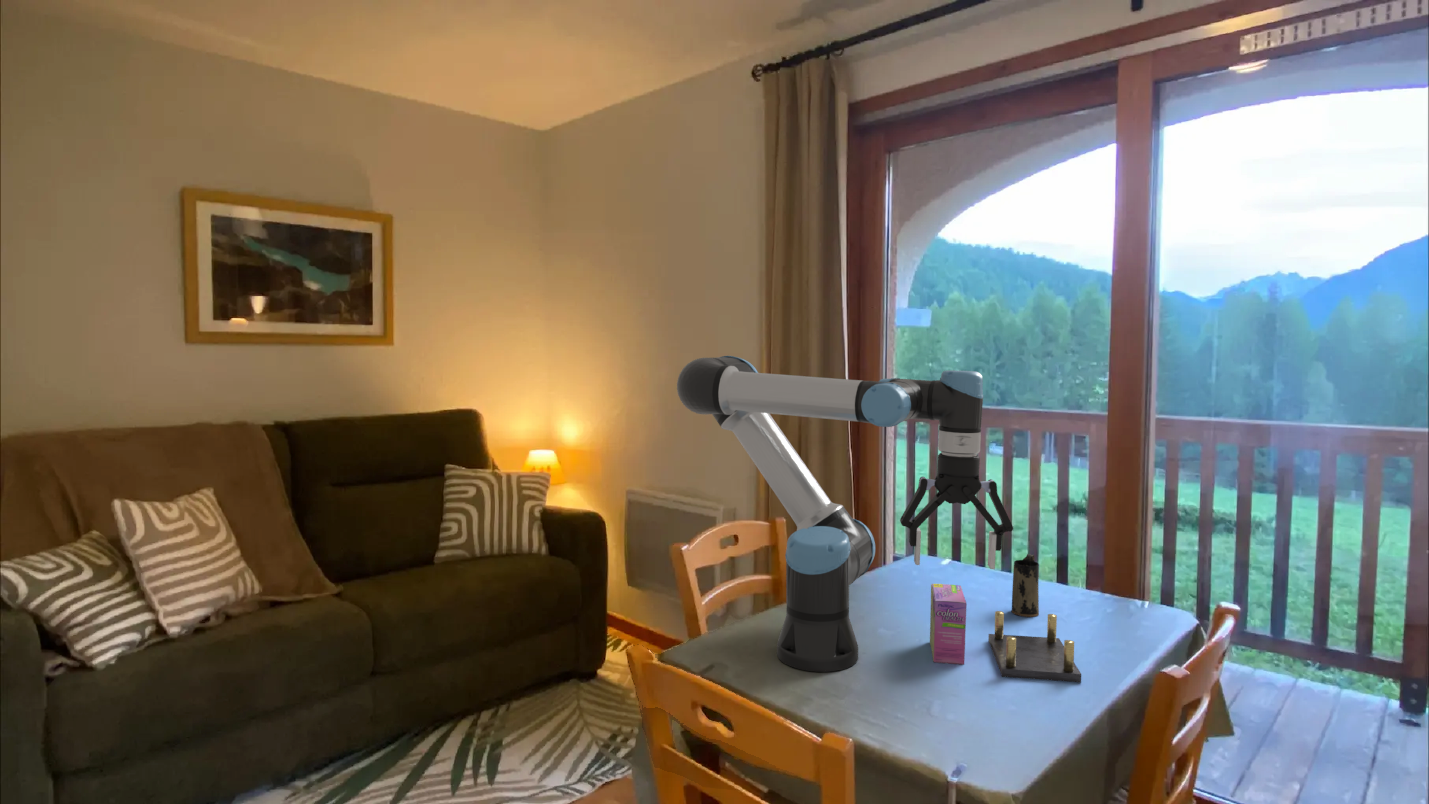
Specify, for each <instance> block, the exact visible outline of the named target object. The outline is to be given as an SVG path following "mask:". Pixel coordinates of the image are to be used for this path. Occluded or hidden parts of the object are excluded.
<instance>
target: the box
mask: <svg viewBox="0 0 1429 804" xmlns="http://www.w3.org/2000/svg"><path fill="white" fill-rule="evenodd" d="M967 605H968V604H967V599H966V598H965V595H964V592H963V588H962V586H961V585H958V584H949V583H948V584H945V583H944V584H943V583H931V584H930V622H929V623H930V625H929V644H930V649H931V656H932V662H933V663H938V664H949V665H950V664H951V665H965V659H966V658H965V654H966V653H965V652H966V630H967V629H966V628H967V627H966V625H967Z"/></svg>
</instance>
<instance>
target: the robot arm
mask: <svg viewBox="0 0 1429 804" xmlns="http://www.w3.org/2000/svg"><path fill="white" fill-rule="evenodd" d="M681 369H682V370H681V372H679V375H678V378H677V380H676V381H677V382H676V390H677V395H678V398H679V400H680V402H681V403H682V405H683V406H685V408H686V409H687V410H689V411H691V412H693V413H695V414H698V415H712V416H713V418H714V419H715V421H716V422H717V424H718V425H719V426H720V428H721V429H722V430H726V431H731V432H732V433H733V434H734V436H735V438H737V440H738V442H739V443H740V444H741V446H742V447H743V449H744V451H745V452H746V453H747V455H748V457H749V458H750V459H751V461H752V462H753V464H754V465H755V466H756V468H757V469H758V471H759V472H760V474H761V475H762V477H763V478H764V480H765V481H766V483H767V484H768V486H769V487H770V488H771V490H772V491H773V493H774V494H775V496H776V498H777V499H778V500H779V502H780V503H781V504H782V506H783V507H784V509H785V510H786V512H787V514H788V515H789V516H790V517H791V519H792V520H793V522H794V524H795V525H796V531H794V532H793V533H791V534H790V535H789V537H788V539H787V541H786V549H785V555H784V556H785V561H786V563H785V564H786V565H785V569H786V570H785V571H786V572H785V573H786V574H785V576H786V577H785V578H786V580H785V581H786V584H785V586H786V587H785V588H786V590H785V591H786V600H785V601H786V614H785V618H784V620H783V623H782V626H781V630H780V633H779V636H778V639H777V643H776V656H777V659H778V660H780V662H781V663H783V664H785V665H786V666H788V667H792V668H794V669H797V670H801V671H807V672H817V673H819V672H820V673H822V672H823V673H824V672H837V671H842V670H845V669H848V668H851V667H852V666H854V665H855V664H856V663H857V662H858V661H859V645H858V642H857V638H856V635H855V631H854V628H853V625H852V623H851V619H850V586H851V585H852V584H853V583H855V581H857V579H859V578H860V577H862V576H863V575H864V574H866V572H867V571H868V570H869V568H870V567H871V565H872V563H873V561H874V558H875V555H876V543H875V538H874V535H873V533H872V532H871V530H870V528H869V527H868V526H867V525H866V524H864V523H863V522H862V521H860V520H857V519H856V518H853V517H852V516H851V515H850V513H849V512H848V511H847V509H846V508H845V506H844V505H843V504H840V503H836V502H835V503H834V502H832V501H831V499H830V498H829V496H828V495H827V493H826V492H825V491H824V489H823V488H822V487H821V484H820V483H819V482H818V481H817V479H816V478H815V476H814V474H813V473H812V472H811V471H810V470H809V468H808V467H807V465H806V463H805V462H804V461H803V460H802V458H801V456H800V455H799V454H798V452H797V450H796V449H795V448H794V447H793V445H792V444H791V442H790V440H789V439H788V438H787V437H786V434H784V432H783V430H782V429H781V428H780V427H779V425H778V424H777V422H776V421H775V420H774V418H773V416H772V415H783V416H794V417H795V416H796V417H802V418H803V417H805V418H816V419H827V420H837V421H838V420H839V421H848V422H849V421H850V422H858V423H859V422H860V423H865V424H866V423H867V424H872V425H874V426H876V427H880V428H881V427H882V428H883V427H885V428H890V427H894V426H895V427H896V426H897V425H900V424H901V423H903V422H905V421H908V420H927V421H938V423H939V425H938V443H937V444H938V446H937V450H938V451H939V452H940V453H938V455H937V463H936V464H937V467H936V468H937V470H936V477H935V479H931V478H927V477H925V476H921V477H920V478H919V480H918V486H917V488H916V491H915V492H914V495H913V496H912V498H911V499H910V501H909V503H908V505H907V507H906V508H905V509H904V511H903V513H902V515H901V517H900V518H899V523H900V525H901V526H902V527H905V528H908V529H909V532H908V533H909V535H908V542H909V545H910V547H914V548H913V549H914V551H913V552H914V553H913V554H914V555H913V561H914V562H913V563H914V565H915V566H920V564H921V563H920V562H921V546H922V545H921V543H922V530H921V527H920V526H921V525H922V524H924V522H925V521H926V520H927V519H928V518H929V517H930V516H931V515H932V514H933V513H934V512H935V511H936V509H938V508H939V507H940V506H941V505H942V504H944V502H946V503H948V504H957V503H958V504H961V505H967V504H969V503H970V502H971V503H972V505H973V506H974V507H975V508H976V510H977V511H978V512H979V513H980V514H981V516H982V517H983V519H985V521H986V522H987V523H988V524H989V526H990V527H991V528H992V529H993V530H991V531H989V530H988V531H989V532H988V548H987V549H988V553H987V566H988V568H989V569H990V570H995V569H996V554H997V553H996V551H998V552H1001V550H1002V543H1003V535H1004V534H1005V533H1006V532H1012V531H1014V526H1013V524H1012V522H1011V519H1010V518H1009V516H1008V514H1007V511H1006V510H1005V507H1004V505H1003V503H1002V500H1001V499H1000V496H999V494H998V485H997V482H996V481H995V480H993V479H988V480H985V481H984V480H983V481H981V480H980V464H981V463H980V461H981V458H980V456H979V455H978V454H979V453H980V452H981V442H982V441H981V437H982V436H981V435H982V420H983V419H982V417H983V406H984V405H983V404H984V403H983V402H984V393H983V390H984V383H983V382H984V381H983V378H984V377H983V375H982V374H981V373H980V372H978V371H975V370H954V369H953V370H952V369H951V370H944V371H942V372H941V375H940V376H941V377H940V379H938V380H937V379H936V380H927V379H925V380H923V379H911V378H907V379H906V378H899V377H893V378H882V379H879V380H878V381H876V380H860V379H859V380H858V379H844V378H831V377H820V376H819V377H818V376H807V375H806V376H804V375H791V374H779V373H778V374H777V373H767V372H762V373H761V372H758V370H757V369H756V367H755V366H754V365H753V364H752V363H751V362H749V361H748V360H746V359H744V358H742V357H738V356H733V355H723V356H719V357H717V356H716V357H700V358H696V359H693V360H692V361H690V362H688V363H687V364H686V365H685V366H684V367H683V368H681ZM771 414H772V415H771ZM933 486H934V487H935V488H936V490H937V492H936V494H935V495H934V496H933V497H932V499H931V500H930V501H928V503H927V504H926V505H925V506H924V507H923V508H922V509H921V510H920V511H919V512H918V513H917V515H915V516H914V514H915V512H916V511H917V509H918V507H919V505H920V504H921V502H922V499H923V498H924V496H925V495H926V492H927V491H929V490H931V488H932V487H933ZM981 489H983V491H984V492H985V493H987V494H988V495H989V497H990V500H991V502H992V504H993V507H994V508H995V511H996V513H997V514H998V517H999V520H1000V521H1001V524H998V522H997V521H996V520H995V519H994V517H993V516H992V515H991V514H990V512H989V511H988V509H986V507H985V506H984V505H983V504H982V503H981V501H980V500H979V499H978V497H977V496H976V495H977V494H978V492H980V490H981ZM913 516H914V517H913ZM912 517H913V519H912ZM911 519H912V520H911Z"/></svg>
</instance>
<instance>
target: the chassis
mask: <svg viewBox="0 0 1429 804" xmlns="http://www.w3.org/2000/svg"><path fill="white" fill-rule="evenodd" d="M1057 620H1058V616H1057V614H1054V613H1048V614H1047V623H1046V624H1047V625H1046V626H1047V628H1046V630H1047V631H1046V636H1045V637H1044V636H1032V635H1031V636H1029V635H1028V636H1027V635H1015V634H1014V635H1012V634H1004V629H1005V628H1004V626H1005V625H1004V623H1005V612H1003V611H1001V610H996V611H994V633H988V637H987V638H988V644H989V647H990V649H991V651H992V654H993V657H994V660H995V662H996V665H997V667H998V670H999V672H1000V676H1001V677H1002V678H1011V679H1013V678H1014V679H1026V680H1039V681H1040V680H1041V681H1051V682H1052V681H1054V682H1055V681H1056V682H1067V683H1078V684H1079V683H1082V673H1081V671H1080V669H1079V668H1078V667H1077V665H1076V663H1075V641H1073V640H1071V639H1065V640H1064V641H1063V642H1064V643H1063V642H1062V640H1061V639H1060V638H1059V637H1057V625H1058V623H1057Z"/></svg>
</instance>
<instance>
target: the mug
mask: <svg viewBox="0 0 1429 804" xmlns="http://www.w3.org/2000/svg"><path fill="white" fill-rule="evenodd" d="M1039 566H1040V564H1039V562H1037V561H1035V555H1034V554H1029V553H1028V554H1026V555H1025V557H1024V558H1023V559H1017V560H1014V561H1013V572H1012V573H1013V574H1012V575H1013V576H1012V590H1011V591H1012V594H1011V613H1012V614H1013V615H1015V616H1018V617H1022V618H1035V617H1038V616H1039V615H1040V609H1039V603H1040V602H1039V601H1040V600H1039V599H1040V598H1039V597H1040V596H1039V595H1040V594H1039V580H1040V579H1039V576H1040V575H1039V572H1040V571H1039V570H1040V567H1039Z"/></svg>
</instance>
